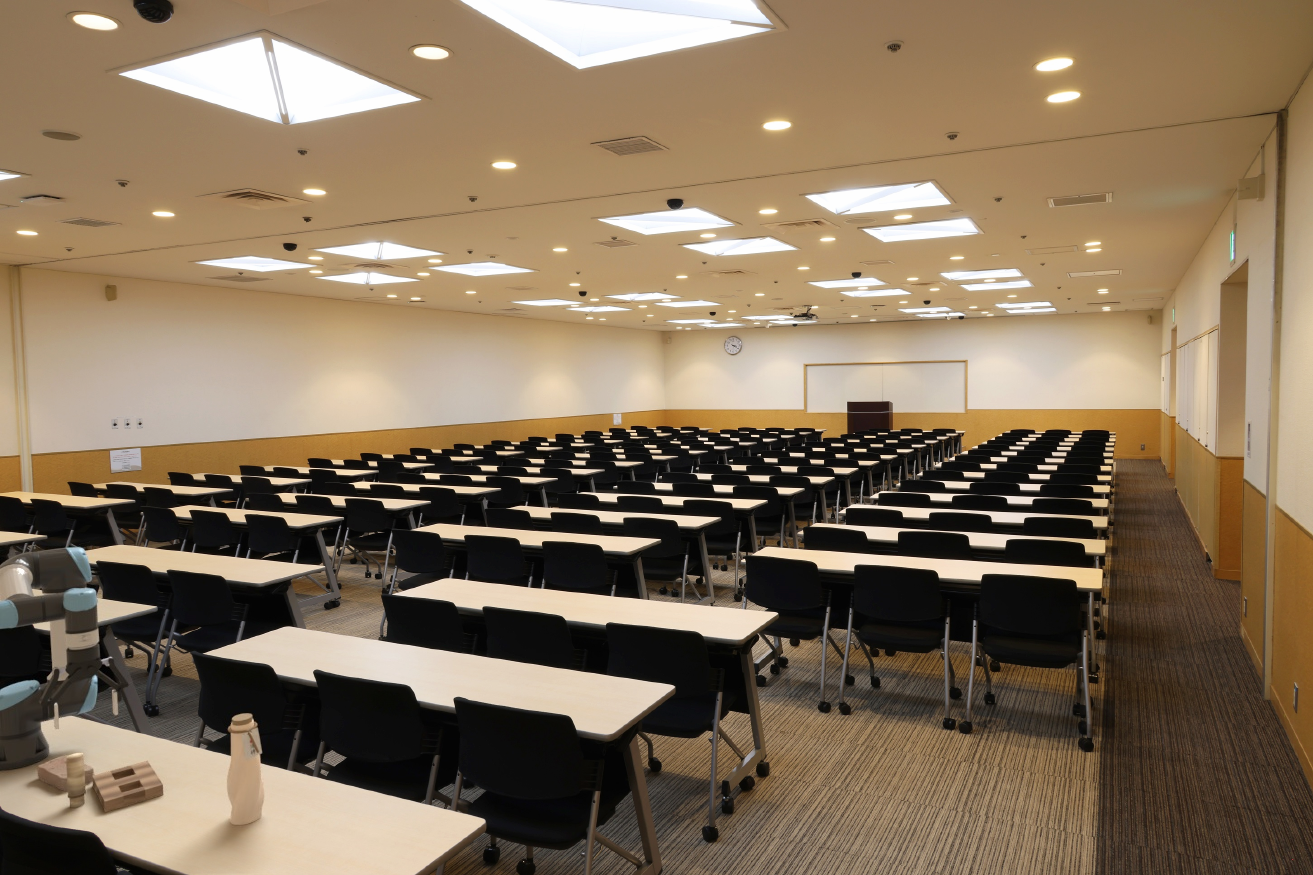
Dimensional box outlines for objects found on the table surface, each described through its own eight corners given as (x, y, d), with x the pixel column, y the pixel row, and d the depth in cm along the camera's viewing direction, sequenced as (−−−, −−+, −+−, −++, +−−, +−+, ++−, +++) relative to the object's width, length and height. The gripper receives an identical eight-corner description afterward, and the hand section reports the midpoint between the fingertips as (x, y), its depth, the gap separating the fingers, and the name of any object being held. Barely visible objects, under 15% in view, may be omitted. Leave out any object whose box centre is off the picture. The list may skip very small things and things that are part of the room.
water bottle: (276, 812, 224) (272, 713, 222) (249, 829, 216) (246, 726, 214) (246, 806, 228) (243, 708, 226) (220, 822, 219) (215, 721, 217)
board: (92, 785, 240) (92, 775, 239) (148, 770, 249) (147, 760, 249) (105, 811, 225) (104, 801, 225) (163, 794, 234) (162, 784, 234)
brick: (96, 780, 243) (95, 765, 243) (65, 793, 236) (64, 777, 235) (67, 768, 251) (66, 753, 251) (36, 780, 244) (35, 764, 244)
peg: (67, 804, 229) (64, 755, 228) (85, 799, 232) (82, 751, 231) (69, 810, 226) (66, 760, 225) (87, 804, 229) (85, 756, 228)
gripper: (27, 659, 215) (32, 737, 216) (138, 638, 232) (141, 711, 233) (24, 652, 220) (28, 729, 222) (132, 632, 237) (135, 704, 239)
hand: (86, 720), depth 227 cm, fingers open, 13 cm apart
